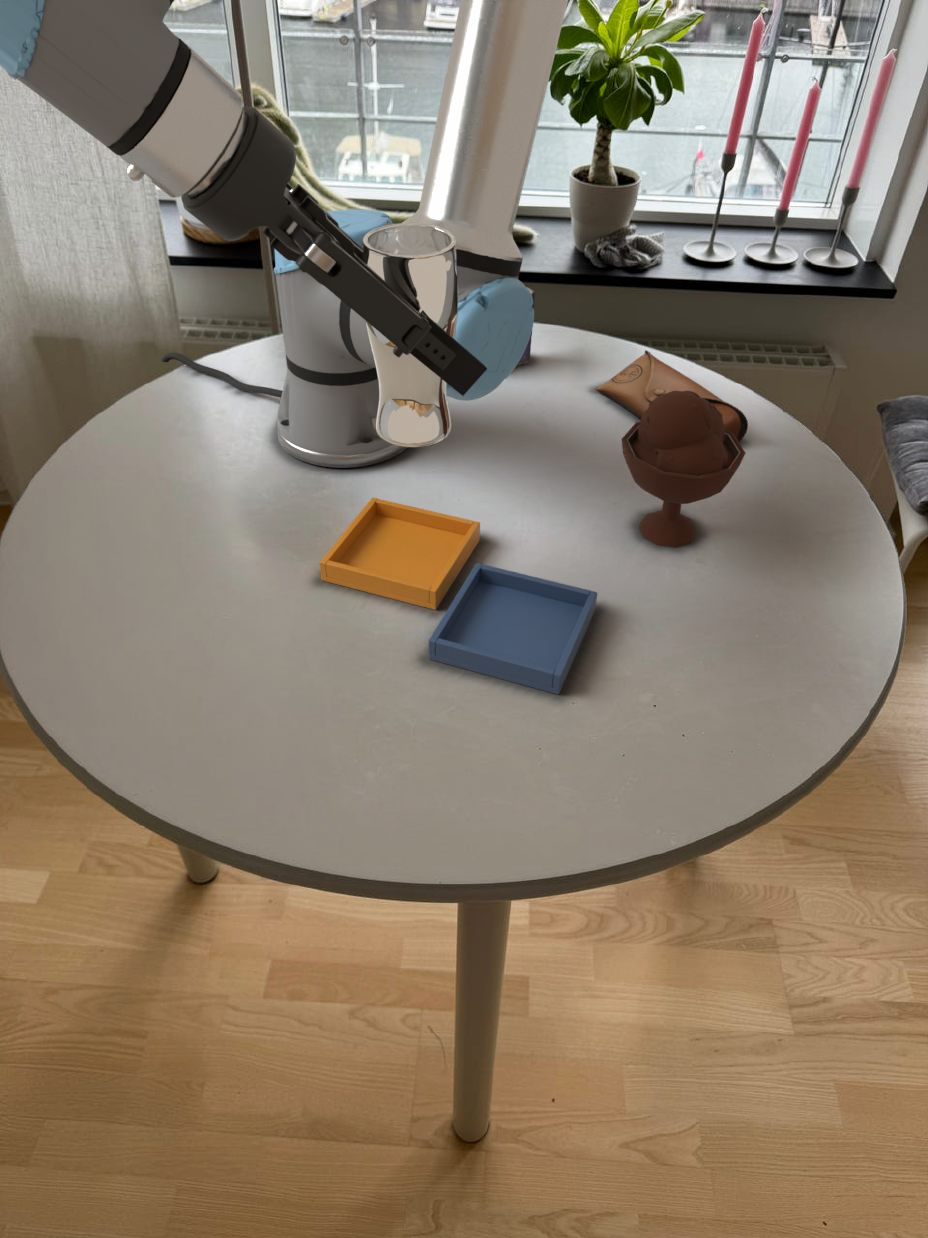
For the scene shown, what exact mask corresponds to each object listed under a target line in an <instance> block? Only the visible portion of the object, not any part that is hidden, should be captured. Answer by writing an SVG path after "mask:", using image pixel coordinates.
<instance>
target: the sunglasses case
mask: <svg viewBox="0 0 928 1238" xmlns="http://www.w3.org/2000/svg"><path fill="white" fill-rule="evenodd" d="M595 391H597V392H599V393H600V394H602V395H604V396H606V397H608V398H609V399H611V400H613V401H614V402H615V403H617V404H618V405H620V406H621V407H622V408H624V409H625V410H627V411H628V412H630V413H631V414H632V415H633V416H635V417H636V418H637V419H639V420H641V418H642V415H643V414H644V412H645V411H646V410H647V409H648V407H649V404H650V402H651V401H653V400H654V399H655V398H656V397H658V396H660V395H663V394H665V393H668V392H671V391H692V392H695V393H697V394H698V395H699V396H700V398H702V399H705V400H707V401H708V402H709V403H710V404H711V405H712V406H715V407H716V409H717V410H718V411H719V412H720V413H721V414H722V418H723V424H724V426H725V430H727V431H729V432H731V433H733V434H734V436H735V437H736V439H737V440H738V442H739V443H740V442H741V441H742V440H743V438H744V437H745V436H746V434H747V431H748V428H749V427H748V426H749V421H748V418H747V417H746V415H745V414H744V412H743V411H742V410H740V409H739V408H738V407H736V406H734V405H733V404H730V403H729V402H726V401H725V400H723V399H722V398H720V397H719V396H717V395H715V394H714V393H713V392H712V391H710V390H708V389H707V388H705V387H704V386H702V385H701V384H699V383H698V382H697V381H695V380H693V379H691V378H690V377H688V376H687V375H686V374H683V373H682V372H680V371H678V370H677V369H676V368H673V367H672V366H670V365H668V364H667V363H666V362H663V361H662V360H660V359H658V358H657V357H655V356H654V355H653V354H652V353H651V352H650V351H648V350H646V349H645V350H644V353H643V354H642V355H641V356H639V357H637V358H635V360H634V361H633V362H631V363H630V364H628V366H626V367H624V368H623V369H622V370H621V371H619V372H618V373H616V374H615V375H614V376H613V377H611V378H610V379H609V380H607V381H605V383H604V384H603V385H601V386H596V387H595Z"/></svg>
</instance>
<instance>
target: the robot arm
mask: <svg viewBox="0 0 928 1238" xmlns="http://www.w3.org/2000/svg"><path fill="white" fill-rule="evenodd" d="M174 2H175V0H0V67H1V68H3V69H4V70H5V72H6V73H7V75H8V76H9V77H10V78H12V79H13V80H15V81H17V80H18V81H19V82H21V83H22V84H24V86H26V87H27V88H29V90H31V91H33V92H34V93H35V94H37V95H38V96H39V97H41V99H43V100H45V102H47V103H48V104H50V105H51V106H53V107H54V108H55V109H57V110H58V111H59V112H61V114H63V115H64V116H66V117H67V118H68V119H69V120H71V121H72V122H74V123H75V124H76V125H77V126H79V127H80V128H82V129H83V130H84V132H85V131H86V133H88V134H89V135H90V136H93V138H94V139H96V140H97V141H99V142H100V143H101V144H102V145H103V146H104V147H106V148H107V149H109V150H110V151H111V152H112V153H113V154H115V155H116V156H118V157H119V158H121V159H122V160H123V161H124V162H125V163H127V164H128V166H127V168H126V171H125V174H127V176H128V177H129V179H130V180H132V181H133V182H139V181H141V180H142V179H143V177H144V176H145V175H146V176H147V177H148V178H149V181H150V182H151V183H152V184H153V185H154V186H156V187H158V189H159V190H161V191H162V192H164V193H165V194H166V195H167V196H169V197H170V198H180V197H181V198H180V199H181V202H182V207H183V208H184V210H185V211H186V212H187V213H189V214H190V215H191V216H193V217H194V218H195V219H197V220H198V221H199V222H200V223H201V224H203V225H204V226H205V227H207V228H208V229H209V230H211V231H212V232H213V233H214V234H216V235H217V236H219V238H221V239H223V240H224V241H229V242H234V241H238V240H241V239H243V238H245V237H247V236H248V235H250V233H251V232H252V231H253V230H255V229H258V228H261V227H264V228H263V229H262V231H261V232H262V233H263V234H264V235H265V236H266V237H267V238H268V239H270V240H271V241H270V246H271V247H272V248H273V249H274V263H275V264H274V265H275V267H274V268H273V272H274V275H275V283H276V290H277V299H278V306H279V313H280V321H281V329H282V336H283V344H284V345H283V346H284V351H285V359H286V360H285V362H286V375H285V380H284V383H283V388H282V390H280V389H276V388H272V387H267V386H260V385H253V384H249V383H246V382H245V383H244V382H241V381H239V380H238V379H236V378H234V377H233V376H231V375H229V374H228V373H226V372H224V371H221V370H219V369H215V368H213V367H210V366H206V365H203V364H200V363H198V362H195V361H193V360H192V359H191V358H188V357H187V356H185V355H183V354H181V353H178V352H174V351H173V352H172V351H171V352H168V353H166V354H165V355H164V356H163V357H162V358H161V360H160V361H161V362H162V363H169V362H170V361H171V360H176V361H178V362H180V363H182V364H184V365H185V366H186V367H189V368H191V369H193V370H195V371H197V372H200V373H202V374H206V375H209V376H213V377H216V378H218V379H221V380H223V381H224V382H226V383H228V384H229V385H230V386H232V387H234V388H236V389H238V390H240V391H244V392H248V393H255V394H262V395H268V396H272V397H276V398H280V401H279V405H278V410H277V414H276V421H275V423H276V424H275V425H276V432H277V439H278V442H279V444H280V446H281V447H282V449H283V450H284V451H285V452H286V453H287V454H288V455H290V456H292V457H293V458H295V459H297V460H300V461H301V462H304V463H307V464H312V465H314V466H319V467H325V468H338V469H346V468H348V469H349V468H359V467H366V466H370V465H371V466H372V465H376V464H379V463H382V462H385V461H387V460H390V459H392V458H394V457H396V456H398V455H400V454H402V453H403V452H404V451H405V450H406V449H408V448H409V447H404V446H398V445H394V444H391V443H389V442H387V441H385V440H384V439H382V438H381V437H380V436H379V435H378V433H377V431H376V416H377V409H378V402H379V385H378V377H377V372H376V367H375V363H374V359H373V355H372V351H371V346H370V342H369V338H368V333H367V327H366V322H365V320H366V321H367V322H368V323H369V324H370V325H372V326H373V327H374V328H375V329H376V330H378V331H379V332H380V333H381V334H382V335H384V336H385V337H386V338H387V339H388V340H390V341H391V342H392V343H393V344H394V345H396V347H395V348H394V349H393V354H394V355H396V356H397V357H399V358H400V356H401V355H402V354H403V353H404V354H405V355H406V354H407V355H409V354H412V355H413V356H414V357H415V358H417V359H418V360H419V361H420V362H421V363H423V364H424V365H425V366H426V367H428V368H429V369H430V370H431V371H433V372H434V373H435V374H436V375H437V376H439V377H440V378H441V379H442V380H444V381H445V382H446V383H447V387H446V389H447V398H450V399H451V398H452V399H454V400H458V401H462V402H463V401H464V402H465V401H468V402H469V401H474V400H478V399H481V398H483V397H485V396H487V395H488V394H491V393H492V392H493V391H494V390H496V389H498V387H500V385H501V384H502V383H503V382H504V381H505V380H506V379H508V377H510V375H511V374H512V372H513V371H514V370H515V368H516V367H517V366H518V365H517V364H518V362H519V360H520V359H521V357H522V355H523V353H524V351H525V349H526V346H527V344H528V341H529V339H530V335H531V332H532V333H533V328H534V322H535V308H534V309H533V308H532V305H533V298H532V295H531V293H530V291H529V289H530V288H529V287H527V286H525V284H524V283H523V281H521V280H519V276H520V274H521V273H520V272H521V268H522V265H523V259H524V256H523V253H522V252H521V250H520V248H519V247H518V245H517V243H516V241H515V239H514V236H513V230H514V226H515V222H516V218H517V214H518V210H519V205H520V201H521V198H522V197H521V196H522V192H523V188H524V184H525V180H526V176H527V172H528V168H529V164H530V160H531V156H532V151H533V147H534V143H535V138H536V135H537V130H538V126H539V122H540V118H541V115H542V110H543V106H544V101H545V97H546V93H547V90H548V85H549V80H550V76H551V72H552V68H553V64H554V60H555V55H556V52H557V47H558V44H559V40H560V35H561V31H562V27H563V23H564V18H565V15H566V10H567V6H568V2H569V0H460V2H459V7H458V12H457V18H456V22H455V28H454V33H453V37H452V42H451V46H450V52H449V58H448V63H447V68H446V73H445V77H444V82H443V88H442V92H441V97H440V101H439V107H438V112H437V116H436V121H435V127H434V132H433V137H432V142H431V147H430V151H429V156H428V162H427V167H426V171H425V177H424V181H423V187H422V190H421V197H420V201H419V207H418V209H417V210H416V212H415V213H413V214H412V215H411V216H409V217H408V218H406V219H405V220H403V222H400V224H402V223H417V224H427V225H432V226H437V227H440V228H443V229H445V230H447V231H449V232H451V233H452V234H453V235H454V236H455V238H456V256H457V270H458V316H457V324H456V331H455V337H454V338H453V337H451V336H450V335H449V334H448V333H447V332H446V331H444V330H443V329H442V328H441V327H440V326H439V325H437V324H436V323H435V322H434V321H433V320H432V319H430V318H429V317H428V316H427V315H426V314H423V313H419V312H418V311H417V310H416V309H415V308H414V307H412V306H411V305H410V304H409V303H408V302H407V301H406V300H405V299H404V298H403V297H402V296H400V295H399V294H398V293H397V292H396V291H395V290H394V289H393V288H392V287H391V286H390V285H388V284H387V283H386V282H385V281H384V280H383V279H382V278H381V277H380V276H379V275H378V274H376V273H375V272H374V271H373V270H372V269H371V268H370V267H369V266H368V265H367V264H365V263H364V262H363V238H364V236H365V235H366V234H367V233H368V232H370V231H371V230H373V229H376V228H379V227H382V226H386V225H392V224H393V220H392V218H391V216H389V215H388V214H387V213H385V212H382V211H379V210H374V209H364V208H363V209H362V208H361V209H360V208H359V209H358V208H351V209H337V210H329V211H326V210H325V209H324V208H323V207H322V206H320V204H319V202H318V201H317V199H316V198H315V197H314V196H313V195H312V194H311V193H310V192H309V191H308V190H307V189H306V188H305V187H303V186H302V185H301V184H300V183H298V184H297V185H296V186H295V187H294V186H293V185H291V183H290V181H291V180H292V177H293V174H294V171H295V167H296V164H297V151H296V147H295V145H294V143H293V141H292V140H291V139H290V138H289V137H288V136H286V135H285V133H283V132H282V131H281V130H280V129H279V128H278V127H277V126H275V124H273V123H272V122H271V121H270V119H268V118H267V117H266V116H264V114H262V113H261V111H259V110H258V109H257V108H256V107H254V106H245V105H244V98H243V95H242V93H240V91H239V90H238V89H236V88H235V87H234V86H233V85H232V84H231V83H230V82H229V81H228V80H226V78H224V76H222V75H221V74H220V73H219V72H218V71H217V70H216V69H215V68H213V66H211V65H210V64H209V63H208V62H207V61H206V60H205V59H204V58H203V57H202V56H201V55H200V54H199V53H197V52H196V51H195V50H194V49H193V48H192V47H191V46H188V45H187V44H186V43H185V41H183V40H182V39H181V38H180V37H179V36H177V35H175V34H174V32H172V31H171V30H170V28H169V27H168V26H167V24H165V22H164V19H165V17H166V15H167V13H168V11H169V10H170V8H171V6H172V5H173V3H174ZM526 287H527V288H526ZM528 288H529V289H528Z"/></svg>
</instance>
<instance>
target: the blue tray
mask: <svg viewBox="0 0 928 1238" xmlns="http://www.w3.org/2000/svg"><path fill="white" fill-rule="evenodd" d="M597 598H598V592H597V591H594V590H590V589H587V588H581V587H578V586H574V585H569V584H565V583H561V582H556V581H553V580H549V579H545V578H540V577H537V576H532V575H529V574H525V573H520V572H517V571H513V570H508V569H503V568H499V567H496V566H492V565H487V564H484V563H478V562H476V563H475V564H474V566H473V567H472V569H471V570H470V573H469V574H468V576H467V578H466V579H465V581H464V582H463V584H462V586H461V587H460V589H459V590H458V592H457V593H456V595H455V597H454V599H453V600H452V602H451V603H450V605H449V607H448V608H447V610H446V612H445V614H444V615H443V616H442V618H441V620H440V622H439V623H438V624H437V626H436V628H435V630H434V631H433V633H432V634H431V636H430V638H429V640H428V659H429V660H432V661H434V662H439V663H442V664H445V665H446V664H447V665H449V666H453V667H456V668H459V669H464V670H466V671H467V670H468V671H471V672H475V673H478V674H482V675H485V676H489V677H492V678H497V679H500V680H504V681H508V682H510V683H514V684H518V685H521V686H526V687H530V688H533V689H536V690H539V691H540V690H541V691H544V692H547V693H552V694H554V695H559V694H560V693H561V690H562V689H563V686H564V684H565V681H566V679H567V676H568V674H569V672H570V670H571V668H572V665H573V663H574V661H575V658H576V655H577V653H578V651H579V649H580V647H581V644H582V642H583V640H584V637H585V635H586V633H587V631H588V628H589V626H590V623H591V621H592V619H593V616H594V614H595V611H596V608H597V607H596V606H597V600H598V599H597Z"/></svg>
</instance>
